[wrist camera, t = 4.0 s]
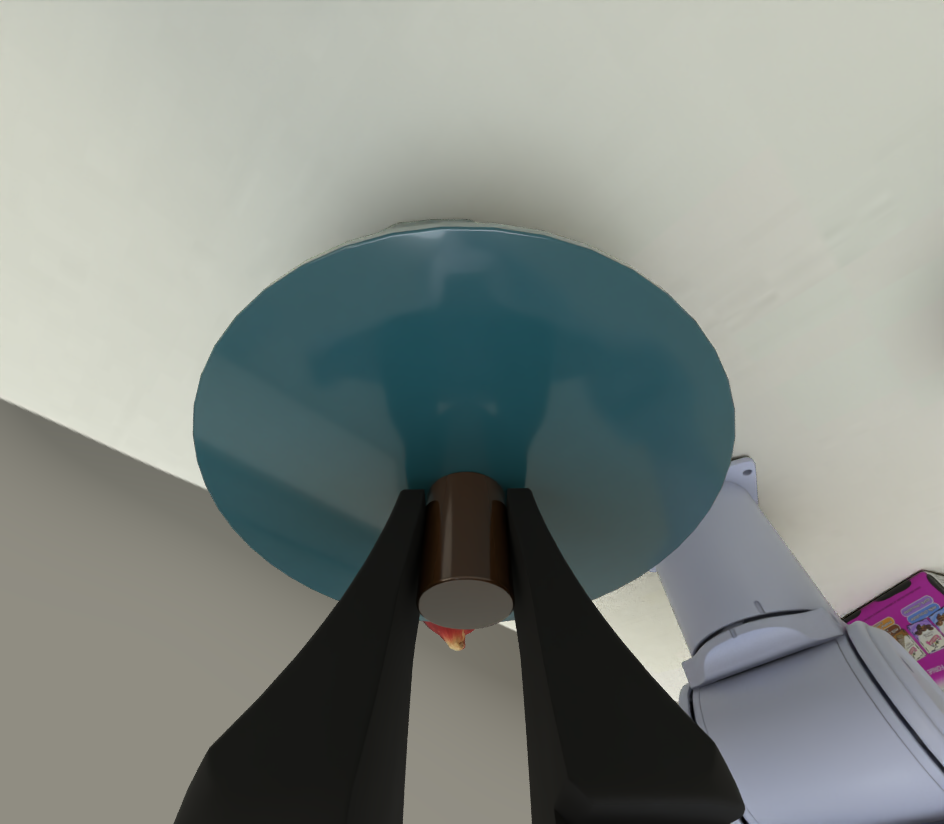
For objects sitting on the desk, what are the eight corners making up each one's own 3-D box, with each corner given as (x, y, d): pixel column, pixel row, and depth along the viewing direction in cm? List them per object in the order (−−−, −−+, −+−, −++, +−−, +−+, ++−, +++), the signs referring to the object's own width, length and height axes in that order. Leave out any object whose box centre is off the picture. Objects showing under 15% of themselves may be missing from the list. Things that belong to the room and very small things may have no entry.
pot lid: (737, 540, 16) (817, 668, 12) (391, 628, 20) (373, 745, 16) (667, 56, 7) (863, 4, 4) (85, 378, 11) (-96, 506, 8)
